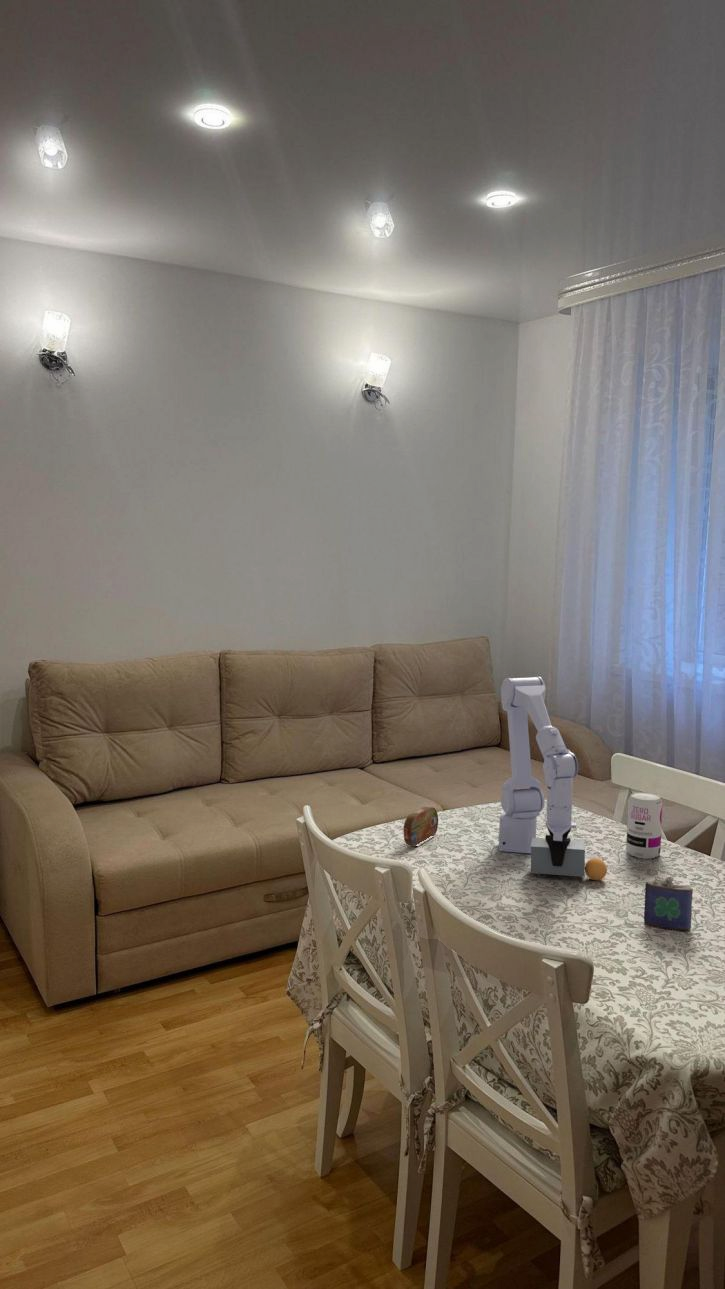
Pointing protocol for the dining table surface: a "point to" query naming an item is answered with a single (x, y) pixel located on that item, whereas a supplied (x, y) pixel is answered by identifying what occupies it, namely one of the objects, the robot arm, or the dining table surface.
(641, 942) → the dining table surface
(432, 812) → the tin
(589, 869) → the ball
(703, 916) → the dining table surface
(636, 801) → the supplement can
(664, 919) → the flask
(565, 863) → the grey rectangular prism
